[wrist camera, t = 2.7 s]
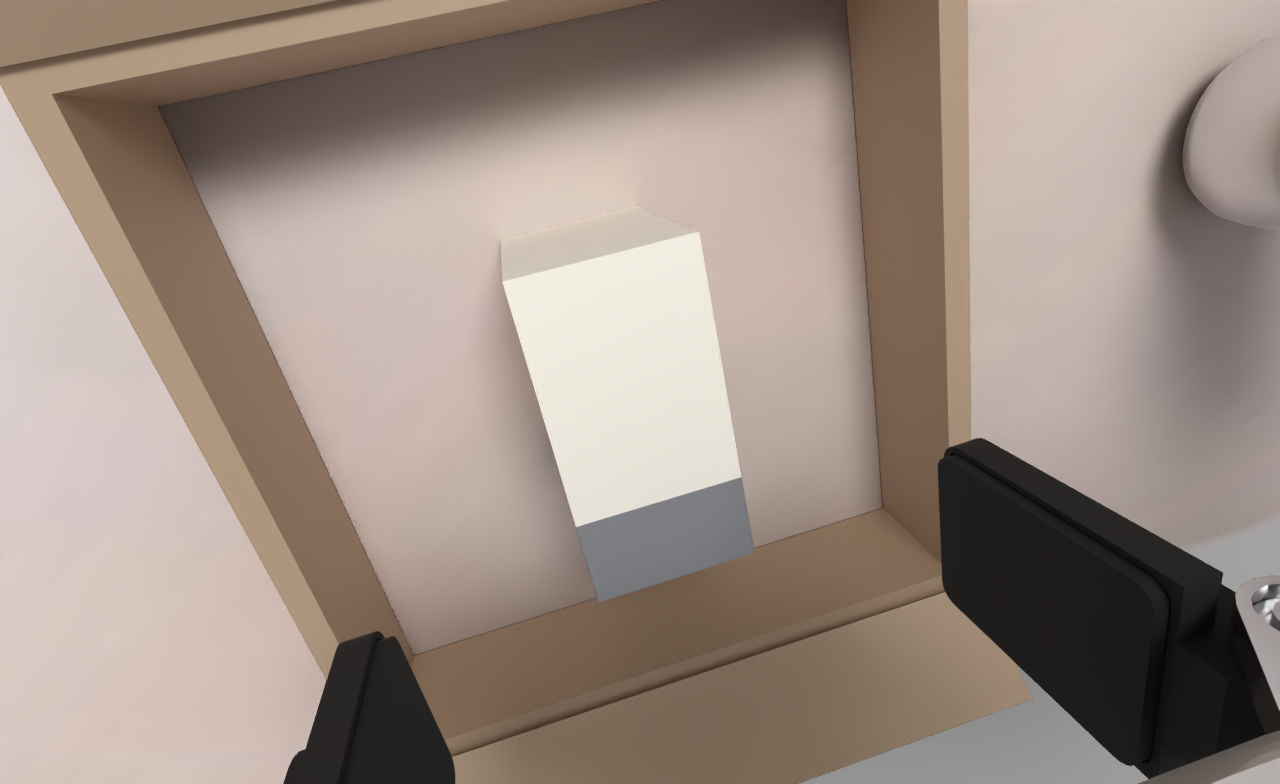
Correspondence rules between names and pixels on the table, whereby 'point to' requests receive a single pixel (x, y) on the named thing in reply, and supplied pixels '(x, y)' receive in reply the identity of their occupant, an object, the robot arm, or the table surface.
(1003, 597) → the robot arm
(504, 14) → the carton
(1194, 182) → the plastic bottle
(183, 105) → the table surface
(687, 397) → the box
